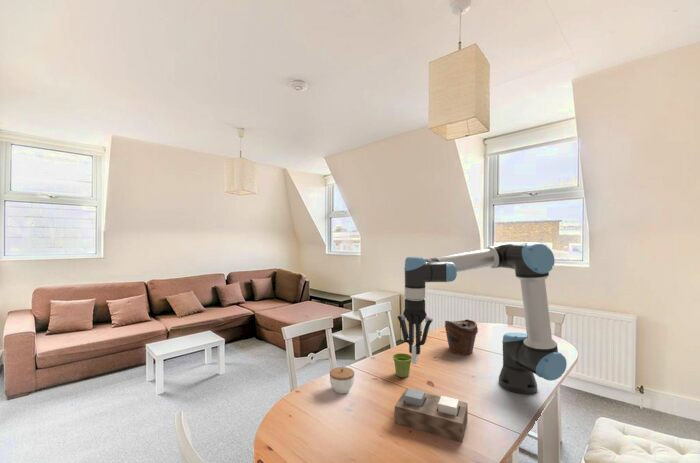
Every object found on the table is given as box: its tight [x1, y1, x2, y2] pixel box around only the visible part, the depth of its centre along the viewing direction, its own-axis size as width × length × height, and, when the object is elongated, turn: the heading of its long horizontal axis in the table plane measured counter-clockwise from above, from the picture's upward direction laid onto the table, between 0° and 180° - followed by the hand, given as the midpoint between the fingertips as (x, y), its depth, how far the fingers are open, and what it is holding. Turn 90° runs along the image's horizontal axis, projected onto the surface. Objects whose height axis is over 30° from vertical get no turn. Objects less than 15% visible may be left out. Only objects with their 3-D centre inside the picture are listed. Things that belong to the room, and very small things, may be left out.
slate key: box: [405, 387, 426, 407], centre depth 114 cm, size 6×6×4 cm
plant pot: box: [392, 352, 412, 379], centre depth 149 cm, size 9×9×9 cm
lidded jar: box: [329, 366, 355, 395], centre depth 134 cm, size 11×11×9 cm
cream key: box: [438, 395, 460, 416], centre depth 109 cm, size 6×6×4 cm
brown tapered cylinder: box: [444, 319, 479, 356], centre depth 180 cm, size 18×20×18 cm
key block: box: [394, 388, 469, 443], centre depth 112 cm, size 23×14×6 cm, turn 63°
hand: (414, 362), depth 115 cm, fingers closed
